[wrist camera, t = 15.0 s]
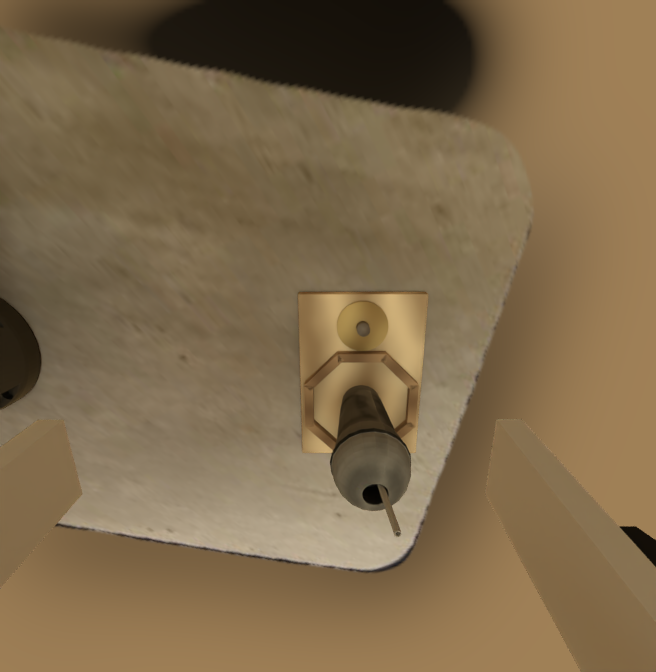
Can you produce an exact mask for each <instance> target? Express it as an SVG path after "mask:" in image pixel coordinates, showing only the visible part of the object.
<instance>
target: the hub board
mask: <svg viewBox="0 0 656 672" xmlns="http://www.w3.org/2000/svg"><path fill="white" fill-rule="evenodd" d="M427 305H428V293H426V292H299V293H298V311H299V346H300V381H301V416H302V450H303V453H332V452H333V450H334V447H335V444H336V441H337V434H338V425H339V417H340V408H341V404H342V399H343V396H344V394H345V393H346V391H348V390H349V389H350V388H352V387H354V386H358V385H364V386H369V387H371V388H373V389H374V390H375V391H376V392H377V393H378V396H379V397H380V399H381V401H382V403H383V405H384V407H385V410H386V412H387V414H388V416H389V418H390V421H391V423H392V425H393V427H394V429H395V431H396V433H397V434H398V435H399V436H400V438H401V439H402V441H403V442H404V443H405V444H406V446H407V448H408V450H409V452H410V453H415V452H416V440H417V428H418V415H419V403H420V391H421V379H422V366H423V354H424V342H425V329H426V317H427Z"/></svg>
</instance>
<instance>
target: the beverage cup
mask: <svg viewBox="0 0 656 672" xmlns="http://www.w3.org/2000/svg"><path fill="white" fill-rule="evenodd" d="M330 465H331V472H332V475H333V477H334V481H335V484H336V486H337V487H338V489H339V491H340V493H341V494H342V496H343V497H344V498H346V499H347V500H348V501H349V502H350V503H351V504H352V505H354V506H356V507H358V508H361V509H363V510H369V511H378V510H383V509H386V512H387V515H388V518H389V520H390V523H391V526H392V529H393V532H394V535H395V536H396V537H400V536H401V535H402V534H401V530H400V528H399V525H398V522H397V520H396V517H395V514H394V511H393V509H392V505H393V504H395V503H396V502H398V501H399V500H400V498H401V497H402V496H403V494H404V493H405V492H406V490H407V487H408V484H409V481H410V477H411V456H410V452H409V450H408V448H407V446H406V444H405V443H404V442H403V441H402V439H401V438H400V436H399V435H398V434H397V433H396V431H395V429H394V427H393V425H392V423H391V421H390V418H389V416H388V414H387V412H386V410H385V407H384V405H383V403H382V401H381V399H380V397H379V396H378V393H377V392H376V391H375V390H374V389H373V388H371V387H369V386H364V385H358V386H354V387H352V388H350V389H349V390H348V391H346V393H345V394H344V396H343V399H342V404H341V408H340V417H339V425H338V434H337V441H336V444H335V447H334V450H333V452H332V456H331V460H330Z"/></svg>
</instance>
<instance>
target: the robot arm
mask: <svg viewBox="0 0 656 672" xmlns="http://www.w3.org/2000/svg"><path fill="white" fill-rule="evenodd" d="M39 371H40V354H39V349H38V345H37V342H36V340H35V337H34V335H33V333H32V331H31V330H30V328H29V326H28V325H27V323H26V322H25V321H24V319H23V318H22V317H21V316H20V315H19V314H18V313H17V312H16V311H15V310H14V309H13V308H12V307H11V306H10V305H9V304H7V303H6V302H5V301H3V300H2V299H0V410H1V409H3V408H6V407H7V406H9V405H11V404H12V403H14V402H16V401H17V400H19V399H21V398H22V397H24V396H25V395H26V394H27V393H28V392H29V391H30V390H31V389H32V387H33V386H34V384H35V383H36V380H37V378H38V375H39ZM81 495H82V490H81V487H80V483H79V479H78V475H77V471H76V467H75V463H74V459H73V455H72V451H71V447H70V443H69V440H68V436H67V432H66V428H65V424H64V420H37V421H36V422H35V423H33V424H32V425H30V426H29V427H28V428H26V429H25V430H24V431H22V432H21V433H19V434H18V435H17V436H15V437H14V438H13V439H11V440H10V441H8V442H7V443H6V444H4V445H3V446H1V447H0V588H1V587H2V586H3V585H4V584H5V582H6V581H7V580H8V579H9V578H10V577H11V575H12V574H13V573H14V572H15V571H16V570H17V569H18V567H19V566H20V565H21V564H22V563H23V562H24V560H25V559H26V558H27V557H28V556H29V554H31V552H32V551H33V550H34V549H35V547H37V545H38V544H39V543H40V542H41V541H42V540H43V539H44V537H45V536H46V535H47V534H48V533H49V532H50V531H51V529H52V528H53V527H54V526H55V525H56V524H57V522H58V521H59V520H60V519H61V518H62V517H63V516H64V514H65V513H66V512H67V511H68V510H69V509H70V507H71V506H72V505H73V504H74V503H75V502H76V501H77V499H78V498H79V497H80V496H81ZM485 495H486V497H487V499H488V500H489V502H490V504H491V506H492V508H493V510H494V512H495V513H496V515H497V517H498V519H499V521H500V523H501V525H502V526H503V528H504V529H505V532H506V534H507V536H508V538H509V539H510V541H511V543H512V545H513V547H514V549H515V550H516V552H517V554H518V556H519V558H520V560H521V562H522V563H523V565H524V567H525V569H526V571H527V573H528V574H529V576H530V578H531V580H532V582H533V584H534V586H535V588H536V589H537V591H538V593H539V595H540V597H541V599H542V600H543V602H544V604H545V606H546V608H547V610H548V611H549V613H550V615H551V617H552V619H553V621H554V623H555V625H556V626H557V628H558V630H559V632H560V634H561V636H562V638H563V639H564V641H565V643H566V645H567V647H568V648H569V651H570V652H571V654H572V656H573V658H574V660H575V662H576V664H577V665H578V667H579V669H580V671H581V672H656V540H655V539H653V538H652V537H650V536H649V535H647V534H646V533H644V532H643V531H642V530H640V529H639V528H637V527H619V526H618V525H617V524H616V523H615V522H614V520H613V519H612V518H611V517H610V516H609V515H608V514H607V513H606V512H605V510H604V509H603V508H602V507H601V506H600V505H599V504H598V503H597V502H596V501H595V500H594V498H593V497H592V496H591V495H590V494H589V493H588V492H587V491H586V490H585V488H584V487H583V486H582V485H581V484H580V483H579V482H578V481H577V480H576V478H575V477H574V476H573V475H572V474H571V473H570V472H569V471H568V470H567V468H566V467H565V466H564V465H563V464H562V463H561V462H560V461H559V460H558V459H557V457H556V456H555V455H554V454H553V453H552V452H551V451H550V450H549V449H548V447H547V446H546V445H545V444H544V443H543V442H542V441H541V440H540V439H539V438H538V437H537V435H536V434H535V433H534V432H533V431H532V430H531V429H530V428H529V427H528V425H527V424H526V423H525V422H524V421H523V420H522V419H497V420H496V426H495V433H494V439H493V446H492V452H491V459H490V466H489V473H488V478H487V485H486V491H485Z"/></svg>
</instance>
